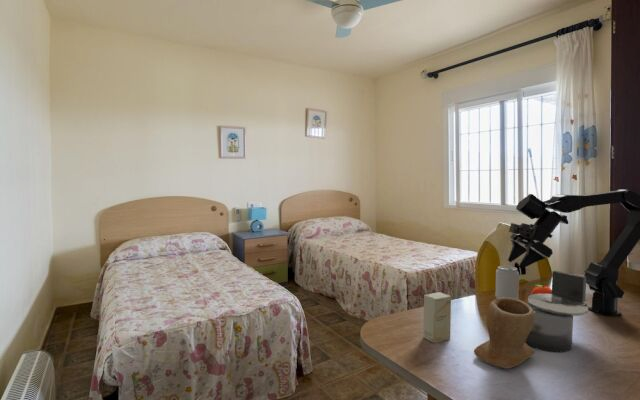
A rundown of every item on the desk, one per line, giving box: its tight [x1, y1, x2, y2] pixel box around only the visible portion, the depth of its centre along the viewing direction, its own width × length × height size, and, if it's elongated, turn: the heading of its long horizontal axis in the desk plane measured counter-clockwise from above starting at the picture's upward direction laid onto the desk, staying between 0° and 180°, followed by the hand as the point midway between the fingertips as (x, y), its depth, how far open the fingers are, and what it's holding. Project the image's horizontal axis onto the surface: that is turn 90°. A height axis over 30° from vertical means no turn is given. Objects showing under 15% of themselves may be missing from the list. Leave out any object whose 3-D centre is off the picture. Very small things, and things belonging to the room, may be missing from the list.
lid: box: [527, 270, 589, 317], centre depth 99 cm, size 14×14×8 cm
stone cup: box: [473, 297, 535, 369], centre depth 85 cm, size 15×12×15 cm
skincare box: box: [423, 291, 452, 344], centre depth 97 cm, size 6×4×12 cm
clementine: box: [529, 284, 552, 295], centre depth 122 cm, size 8×7×7 cm
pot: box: [525, 302, 574, 353], centre depth 98 cm, size 13×20×8 cm, turn 31°
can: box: [494, 265, 520, 300], centre depth 128 cm, size 8×8×12 cm
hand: (514, 264), depth 119 cm, fingers open, 9 cm apart
